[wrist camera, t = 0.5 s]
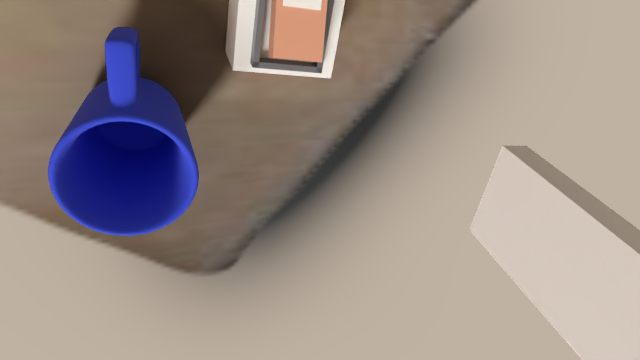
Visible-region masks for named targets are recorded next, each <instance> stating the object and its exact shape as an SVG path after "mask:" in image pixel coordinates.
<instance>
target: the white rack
mask: <svg viewBox="0 0 640 360" xmlns="http://www.w3.org/2000/svg"><path fill="white" fill-rule="evenodd" d="M271 1H272V0H229V9H228V23H227V36H226V50H225V52H226V54H227V57H228V59H229V62H230V64H231V67H232V69H233V70H235V71H248V72H260V73H272V74H284V75H297V76H309V77H321V78H331V74H332V69H333V63H334V58H335V53H336V47H337V42H338V36H339V31H340V26H341V20H342V15H343V9H344V4H345V0H328V2H327V13H326V24H325V35H324V47H323V58H322V63H321V62H310V61H300V60H289V59H278V58H268V50H269V34H270V17H271Z"/></svg>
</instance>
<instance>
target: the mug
mask: <svg viewBox="0 0 640 360" xmlns="http://www.w3.org/2000/svg"><path fill="white" fill-rule="evenodd" d="M105 56H106V69H107V80H106V81H104V82H102V83H101V84H99V85H98V86H96V87H95V88H94V89H93V90H92V91H91V92H90V93H89V94H88V96H87V97H86V99H85V100H84V102H83V103H82V105H81V107H80V108H79V110H78V111H77V113H76V114H75V116H74V118H73V119H72V121H71V122H70V124H69V125H68V127H67V129H66V130H65V132H64V133H63V135H62V137H61V138H60V140H59V141H58V143H57V144H56V146H55V148H54V150H53V152H52V154H51V157H50V161H49V166H48V178H49V184H50V188H51V190H52V193H53V195H54V197H55V199H56V201H57V202H58V204H59V205H60V206H61V208H62V209H63V210H64V211H65V212H66V213H67V214H68V215H69V216H71V217H72V218H73V219H74V220H76V221H77V222H79V223H81V224H82V225H84V226H86V227H88V228H91V229H93V230H96V231H99V232H102V233H107V234H113V235H140V234H145V233H149V232H152V231H156V230H158V229H161V228H163V227H165V226H167V225H169V224H170V223H172V222H173V221H175V220H176V219H177V218H179V217H180V216H181V215H182V214H183V213H184V212H185V211H186V209H187V208H188V207H189V205H190V204H191V202H192V200H193V198H194V196H195V194H196V191H197V187H198V180H199V173H198V165H197V162H196V158H195V155H194V152H193V149H192V145H191V142H190V139H189V136H188V132H187V129H186V126H185V123H184V119H183V116H182V113H181V110H180V108H179V105H178V103H177V102H176V100H175V99H174V97H173V96H172V95H171V94H170V93H169V92H168V91H167V90H166V89H165V88H164V87H163V86H161V85H160V84H158V83H156V82H155V81H152V80H150V79H147V78H143V77H139V75H140V48H139V35H138V32H137V30H136V29H134V28H130V27H117V28H114V29H113V30H112V31H111V32H110V34H109V36H108V37H107V39H106V41H105Z"/></svg>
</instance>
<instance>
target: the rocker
mask: <svg viewBox="0 0 640 360" xmlns="http://www.w3.org/2000/svg"><path fill="white" fill-rule="evenodd" d="M327 2H328V0H272V1H271V17H270V34H269V50H268V58H278V59H289V60H300V61H310V62H321V63H322V58H323V47H324V35H325V24H326V13H327Z"/></svg>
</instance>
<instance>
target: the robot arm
mask: <svg viewBox="0 0 640 360" xmlns="http://www.w3.org/2000/svg"><path fill="white" fill-rule="evenodd" d="M470 231H471V232H472V233H473V235H474V236H475V237H476V238H477V239H478V240H479V241H480V243H481V244H482V245H483V246H484V247H485V249H486V250H487V251H488V252H489V253H490V254H491V255H492V257H493V258H494V259H495V260H496V261H497V262H498V264H499V265H500V266H501V267H502V268H503V269H504V270H505V272H506V273H507V274H508V275H509V276H510V277H511V278H512V280H513V281H514V282H515V283H516V284H517V285H518V287H519V288H520V289H521V290H522V291H523V292H524V293H525V295H526V296H527V297H528V298H529V299H530V300H531V302H532V303H533V304H534V305H535V306H536V307H537V308H538V310H539V311H540V312H541V313H542V314H543V315H544V316H545V318H546V319H547V320H548V321H549V322H550V324H551V325H552V326H553V327H554V328H555V329H556V330H557V332H558V333H559V334H560V335H561V336H562V337H563V338H564V340H565V341H566V342H567V343H568V344H569V345H570V347H571V348H572V349H573V350H574V351H575V352H576V353H577V355H578V356H579V357H580V358H581V359H582V360H640V230H638V229H637V228H636V227H635V226H633V225H632V224H630V223H629V222H628V221H626V220H625V219H624V218H622V217H621V216H620V215H618V214H617V213H616V212H614V211H613V210H612V209H610V208H609V207H608V206H606V205H605V204H603V203H602V202H601V201H600V200H598V199H597V198H596V197H594V196H593V195H591V194H590V193H589V192H587V191H586V190H585V189H583V188H582V187H581V186H579V185H578V184H577V183H575V182H574V181H573V180H571V179H570V178H569V177H567V176H566V175H565V174H563V173H562V172H561V171H559V170H558V169H556V168H555V167H554V166H553V165H551V164H550V163H548V162H547V161H546V160H544V159H543V158H542V157H540V156H539V155H538V154H536V153H535V152H534V151H532V150H531V149H530V148H528V147H527V146H502V149H501V151H500V154H499V156H498V159H497V161H496V164H495V166H494V169H493V171H492V174H491V176H490V179H489V182H488V184H487V186H486V189H485V191H484V194H483V197H482V199H481V202H480V204H479V207H478V209H477V212H476V214H475V217H474V219H473V222H472V224H471V227H470Z"/></svg>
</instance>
